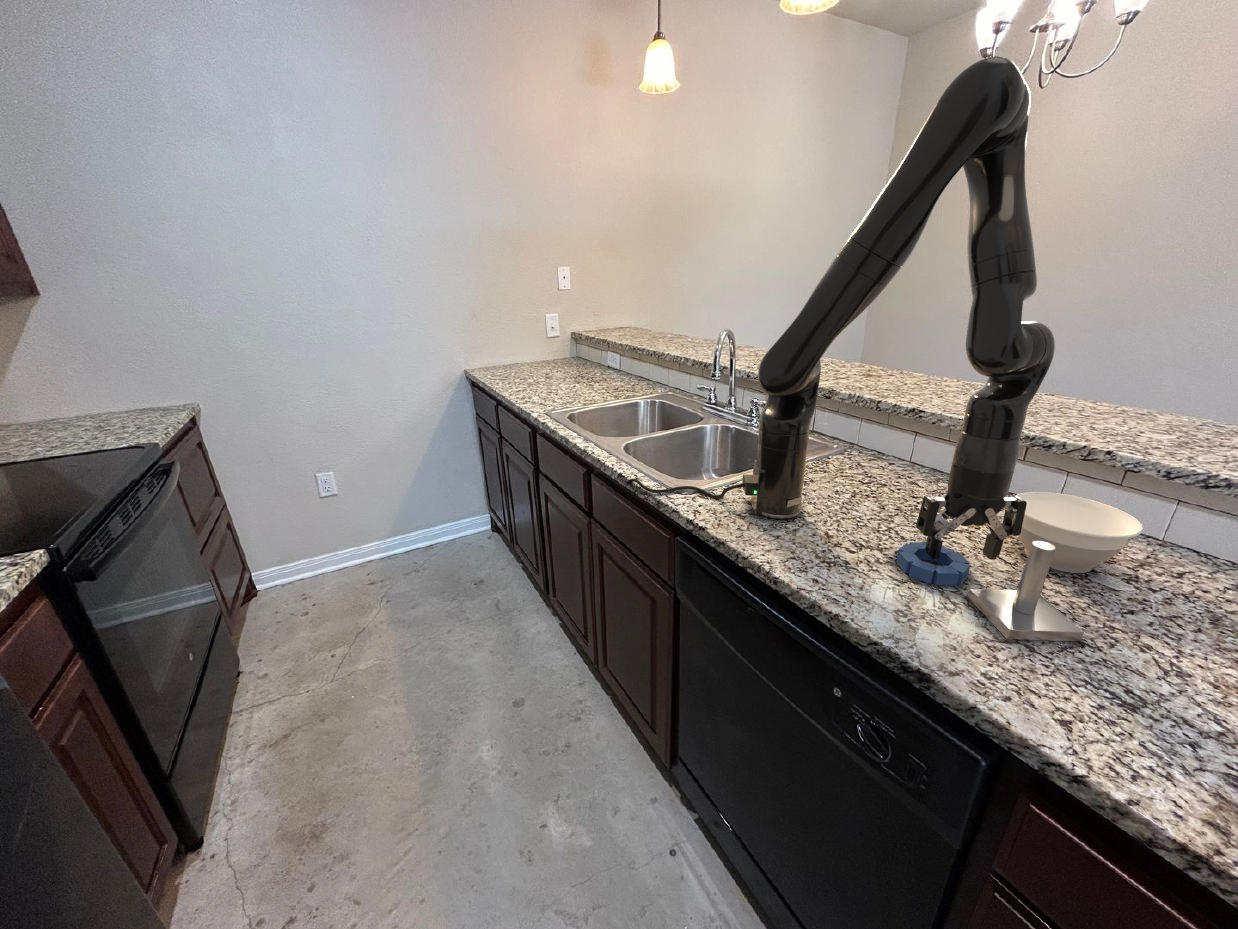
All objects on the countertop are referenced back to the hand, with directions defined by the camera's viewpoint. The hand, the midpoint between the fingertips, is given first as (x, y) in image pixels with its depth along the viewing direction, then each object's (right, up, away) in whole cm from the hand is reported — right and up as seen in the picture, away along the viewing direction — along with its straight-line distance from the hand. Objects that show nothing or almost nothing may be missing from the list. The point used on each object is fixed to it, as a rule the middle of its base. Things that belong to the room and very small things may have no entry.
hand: (960, 557), depth 79 cm
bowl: (+18, -1, +3) cm, 18 cm away
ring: (-4, -2, +1) cm, 5 cm away
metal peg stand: (+1, -6, -11) cm, 12 cm away
